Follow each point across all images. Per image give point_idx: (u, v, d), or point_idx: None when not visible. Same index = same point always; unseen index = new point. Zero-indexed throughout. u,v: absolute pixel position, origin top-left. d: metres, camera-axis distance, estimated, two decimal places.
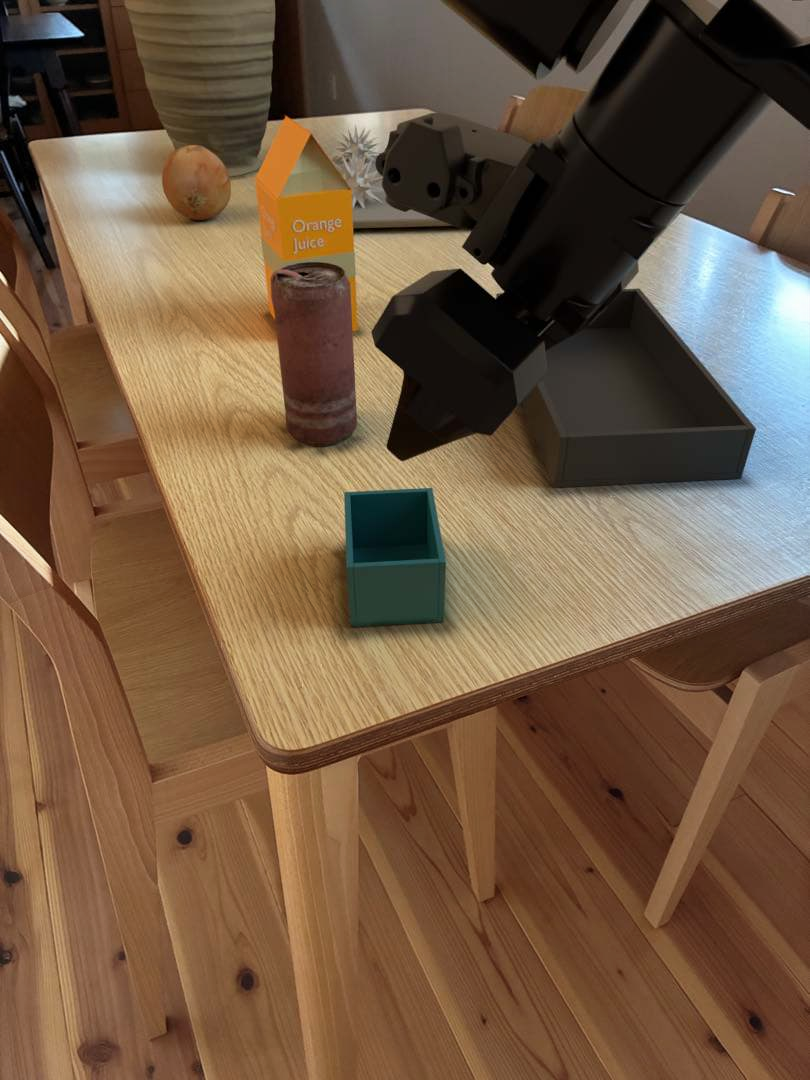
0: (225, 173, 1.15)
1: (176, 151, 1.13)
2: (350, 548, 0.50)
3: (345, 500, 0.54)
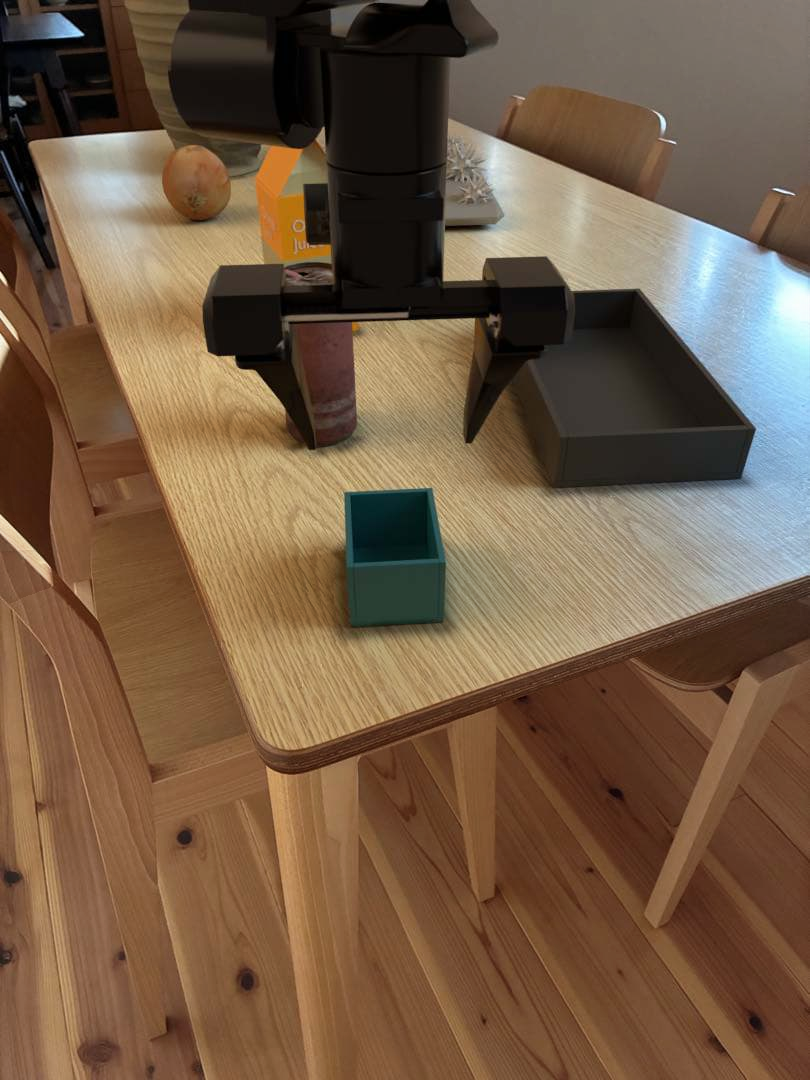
0: (225, 173, 1.15)
1: (176, 151, 1.13)
2: (350, 548, 0.50)
3: (345, 500, 0.54)
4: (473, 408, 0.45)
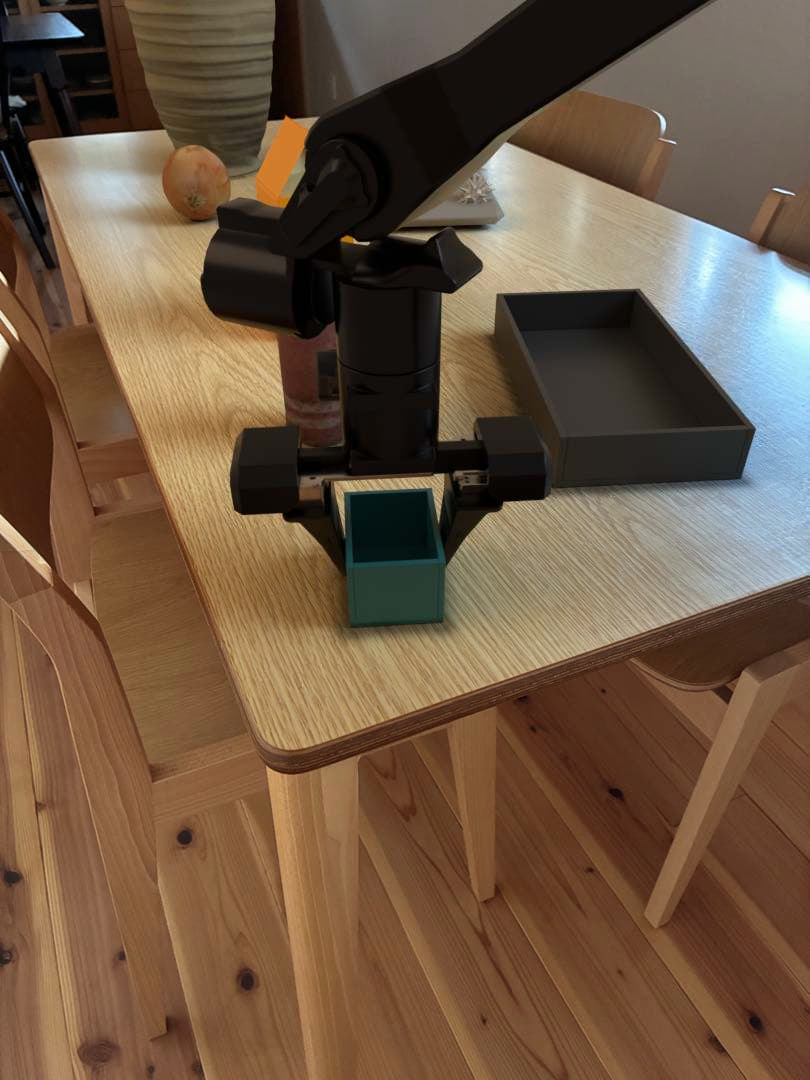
0: (225, 173, 1.15)
1: (176, 151, 1.13)
2: (350, 548, 0.50)
3: (345, 500, 0.54)
4: None
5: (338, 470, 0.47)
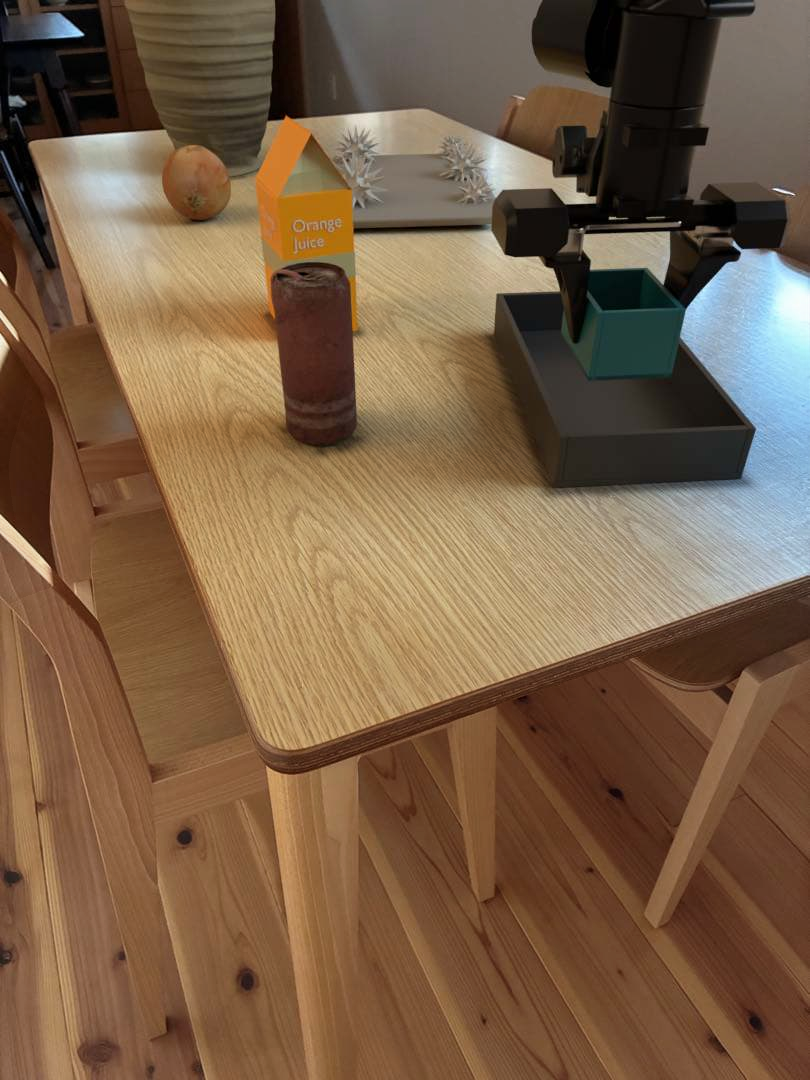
0: (225, 173, 1.15)
1: (176, 151, 1.13)
2: (595, 302, 0.55)
3: None
4: None
5: (595, 222, 0.53)
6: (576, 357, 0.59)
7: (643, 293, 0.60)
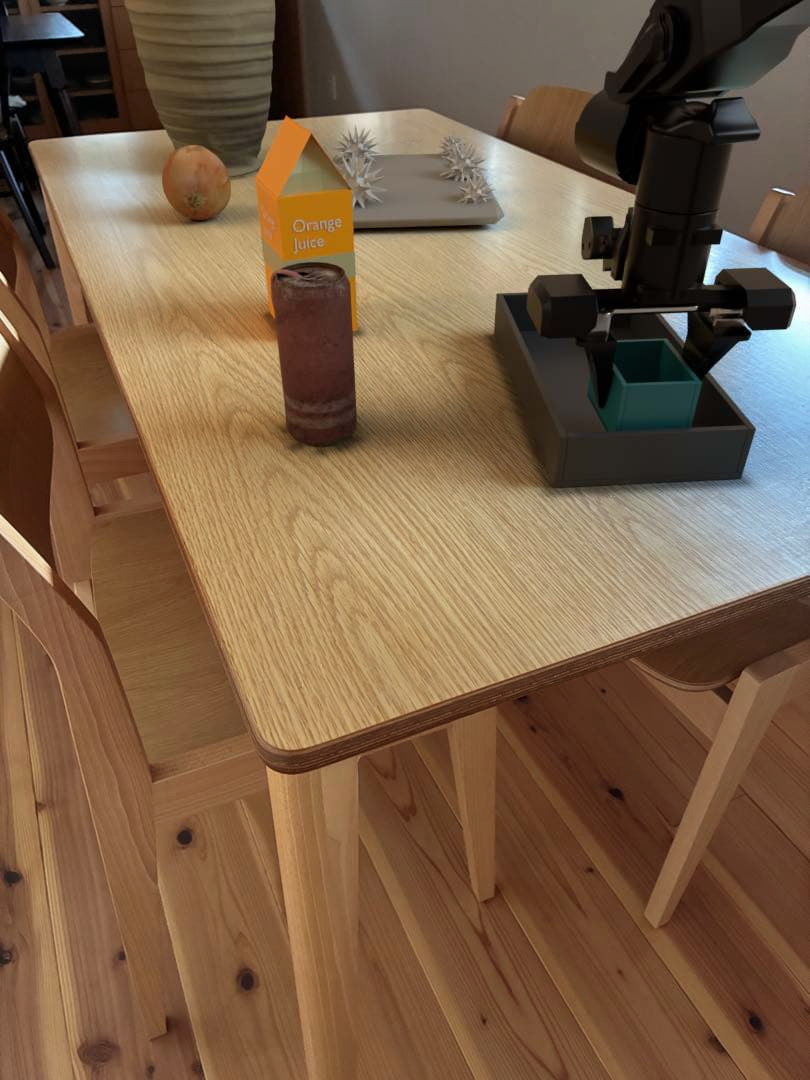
0: (225, 173, 1.15)
1: (176, 151, 1.13)
2: (620, 374, 0.61)
3: None
4: None
5: (620, 305, 0.59)
6: (602, 420, 0.65)
7: (663, 361, 0.66)
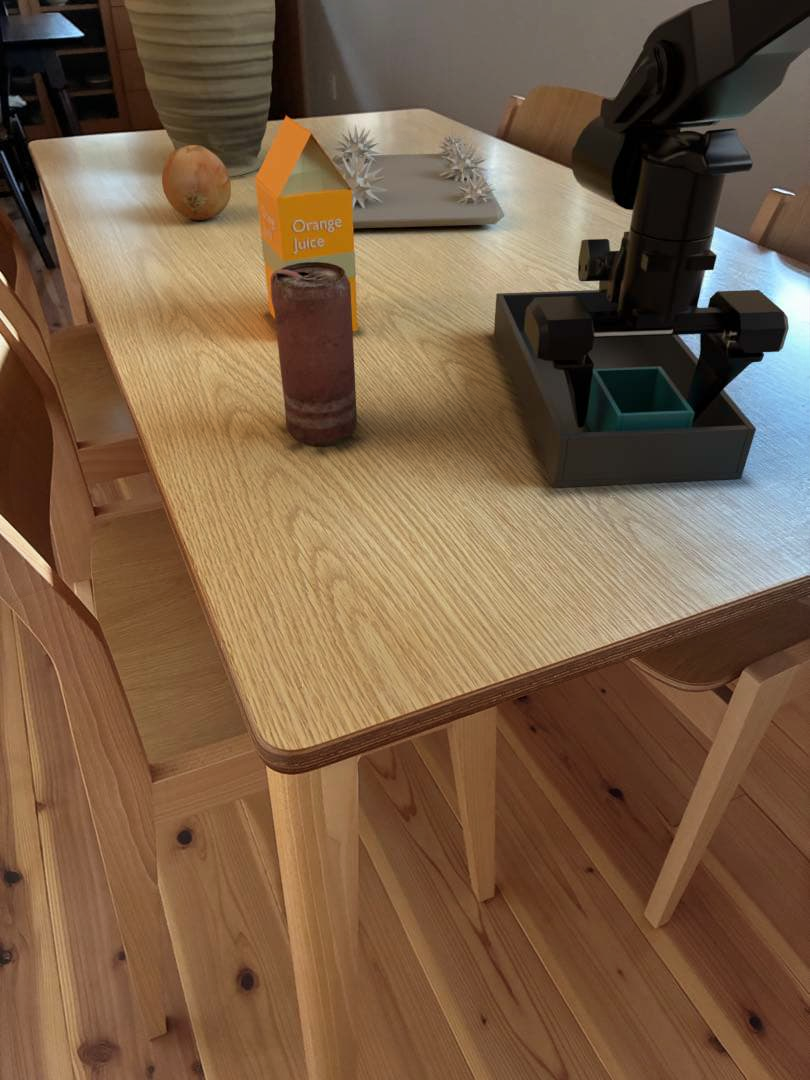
0: (225, 173, 1.15)
1: (176, 151, 1.13)
2: (615, 404, 0.63)
3: (594, 374, 0.67)
4: (702, 396, 0.64)
5: (616, 328, 0.60)
6: None
7: (657, 389, 0.68)
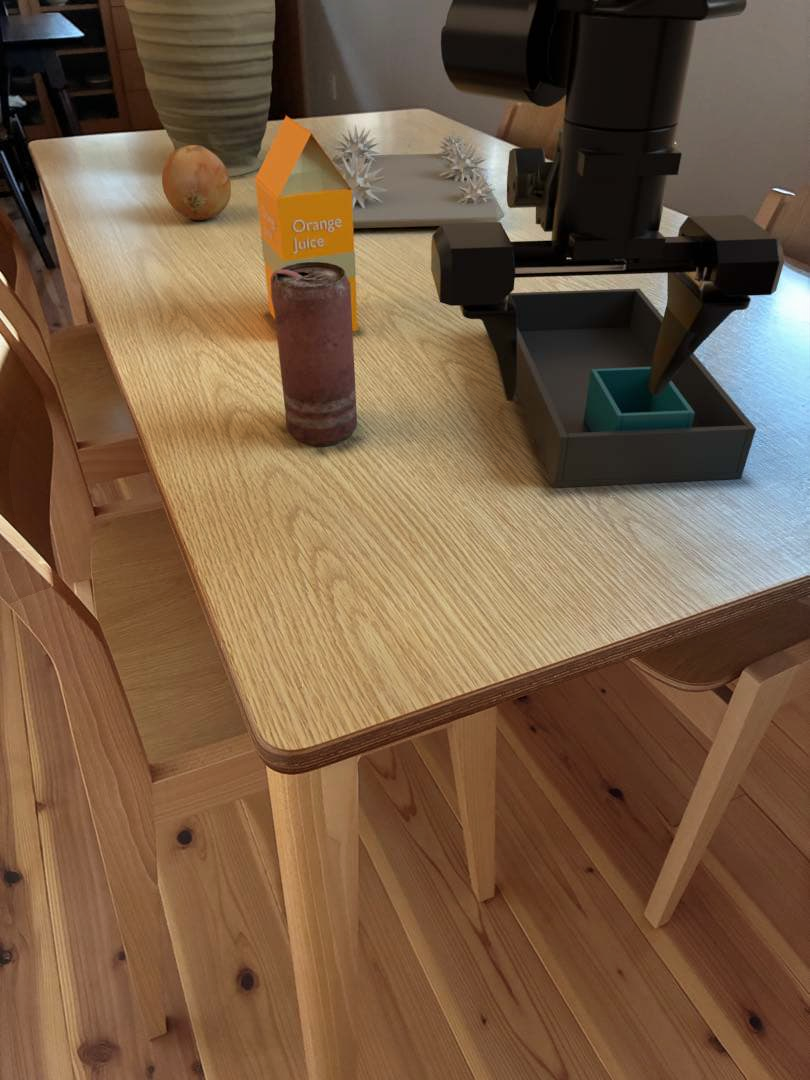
0: (225, 173, 1.15)
1: (176, 151, 1.13)
2: (615, 404, 0.63)
3: (594, 374, 0.67)
4: (669, 359, 0.48)
5: (549, 263, 0.44)
6: None
7: None
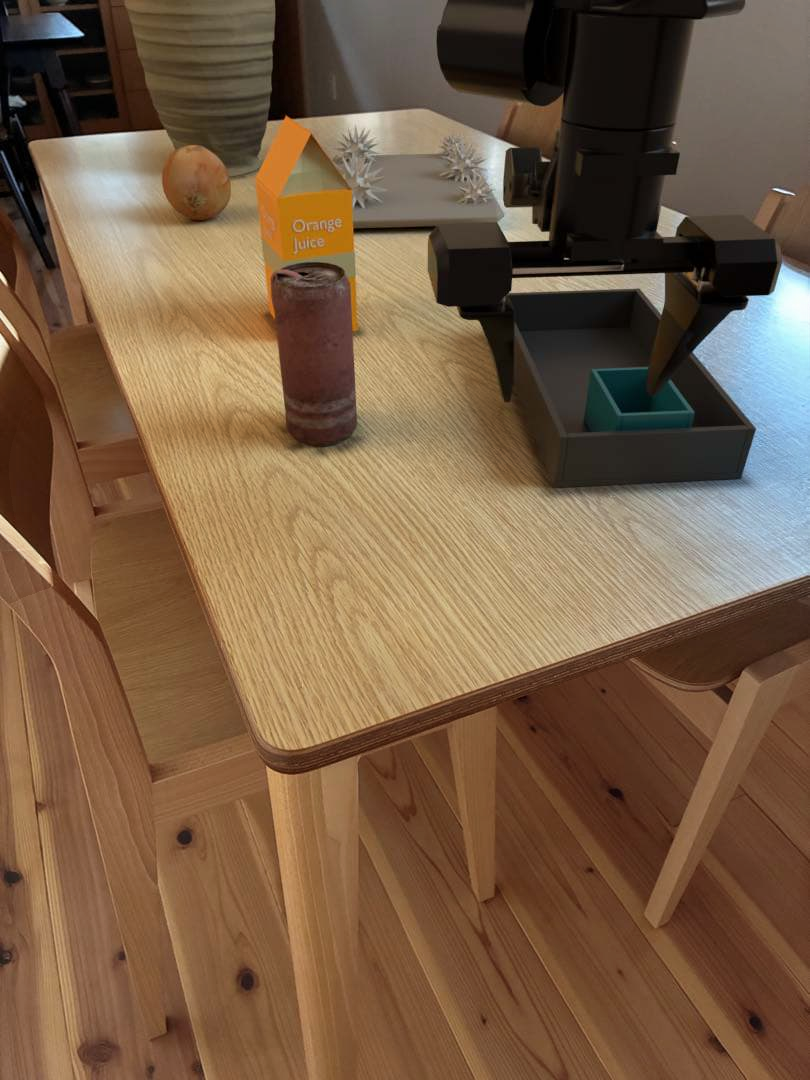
0: (225, 173, 1.15)
1: (176, 151, 1.13)
2: (615, 404, 0.63)
3: (594, 374, 0.67)
4: (667, 360, 0.48)
5: (546, 263, 0.44)
6: None
7: None
